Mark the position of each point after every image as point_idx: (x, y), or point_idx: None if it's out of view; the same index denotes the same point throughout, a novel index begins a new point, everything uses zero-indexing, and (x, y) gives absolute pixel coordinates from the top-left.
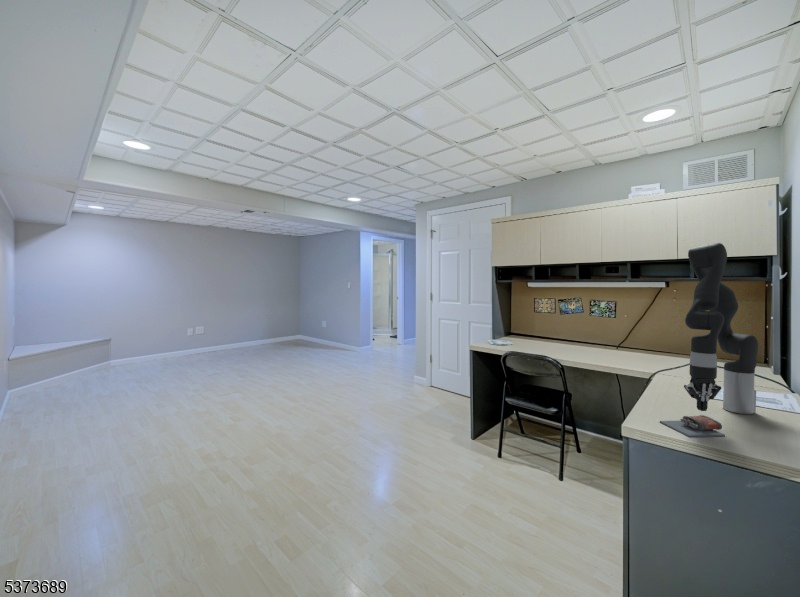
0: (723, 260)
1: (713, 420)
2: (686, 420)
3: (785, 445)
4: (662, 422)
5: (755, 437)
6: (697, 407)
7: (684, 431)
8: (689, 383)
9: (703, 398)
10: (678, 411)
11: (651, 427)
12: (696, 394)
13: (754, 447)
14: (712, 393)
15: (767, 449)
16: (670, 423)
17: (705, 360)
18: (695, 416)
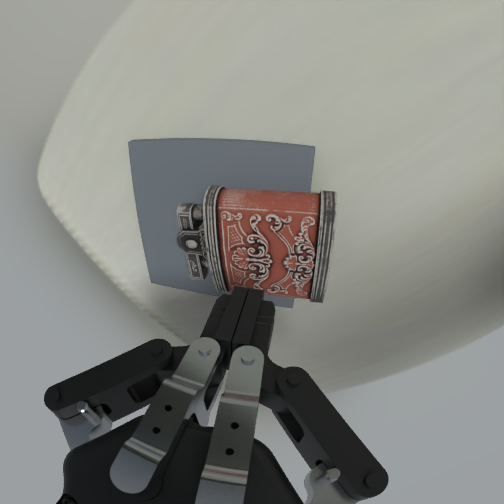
0: None
1: (312, 286)
2: (182, 239)
3: (402, 363)
4: (130, 158)
5: (397, 324)
6: (219, 301)
7: (155, 255)
8: (67, 441)
9: (211, 389)
10: (396, 3)
11: (81, 190)
12: (141, 400)
13: (298, 359)
14: (292, 437)
15: (320, 369)
16: (155, 174)
17: None
18: (270, 220)
